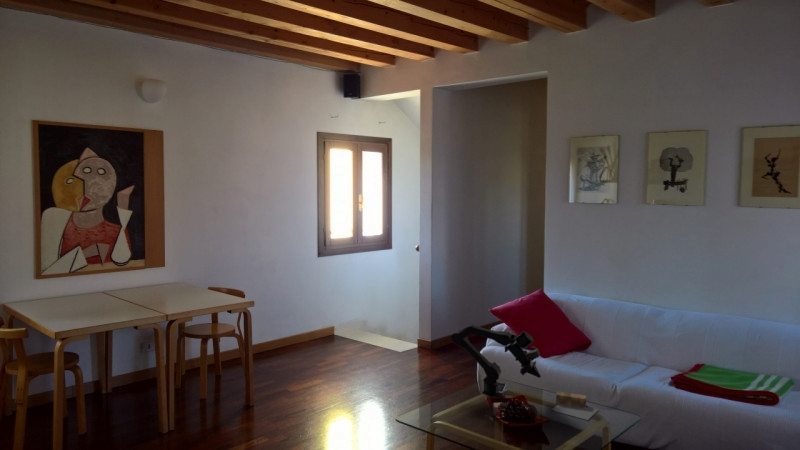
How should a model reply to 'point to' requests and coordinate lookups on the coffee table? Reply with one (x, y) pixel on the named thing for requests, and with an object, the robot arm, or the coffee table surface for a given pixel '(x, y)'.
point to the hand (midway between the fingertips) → (540, 377)
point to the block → (571, 399)
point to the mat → (575, 411)
